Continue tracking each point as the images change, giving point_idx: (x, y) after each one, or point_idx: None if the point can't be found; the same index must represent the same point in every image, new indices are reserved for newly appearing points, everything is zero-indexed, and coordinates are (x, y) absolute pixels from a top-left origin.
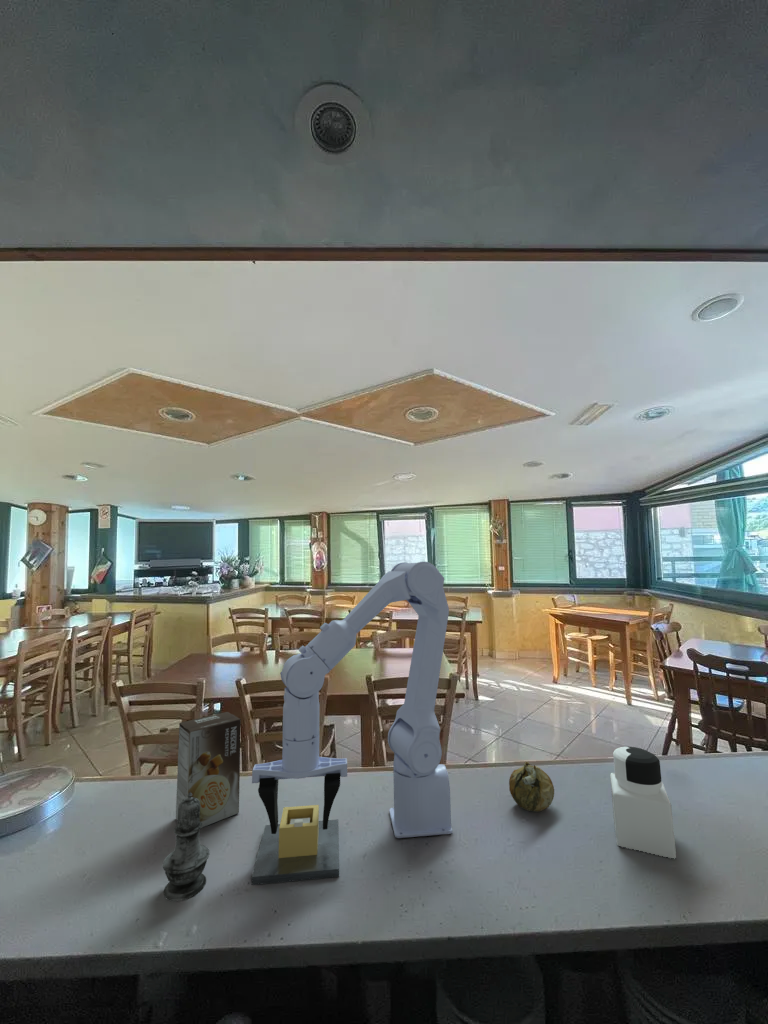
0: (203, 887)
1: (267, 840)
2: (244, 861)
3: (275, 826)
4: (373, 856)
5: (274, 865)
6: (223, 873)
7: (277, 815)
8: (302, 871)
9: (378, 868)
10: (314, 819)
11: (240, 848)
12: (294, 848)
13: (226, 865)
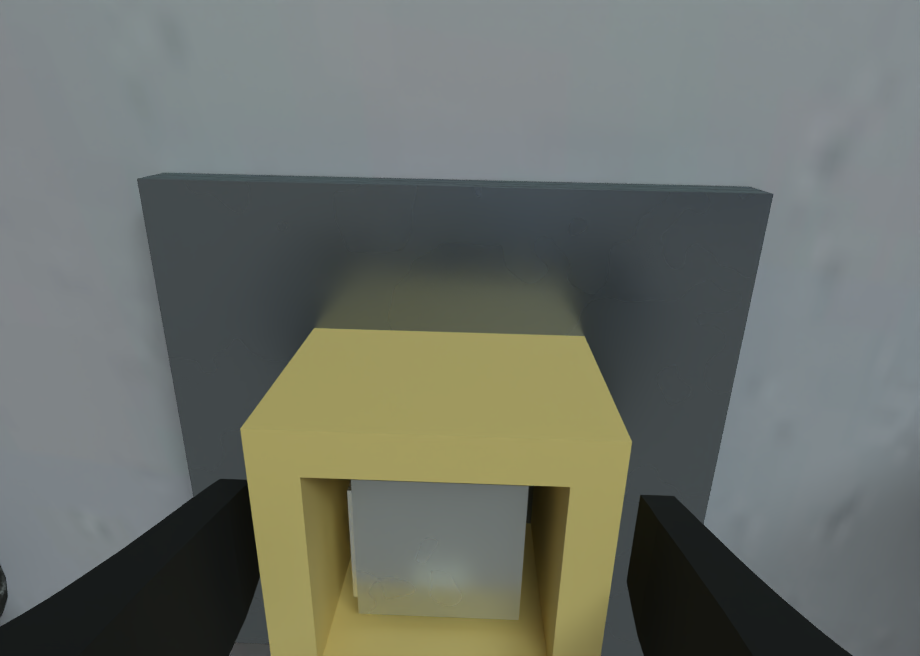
0: (5, 588)
1: (214, 374)
2: (132, 452)
3: (238, 625)
4: (890, 527)
5: None
6: (56, 519)
7: (213, 549)
8: None
9: (879, 608)
10: (570, 646)
11: (54, 335)
12: None
13: (41, 467)
